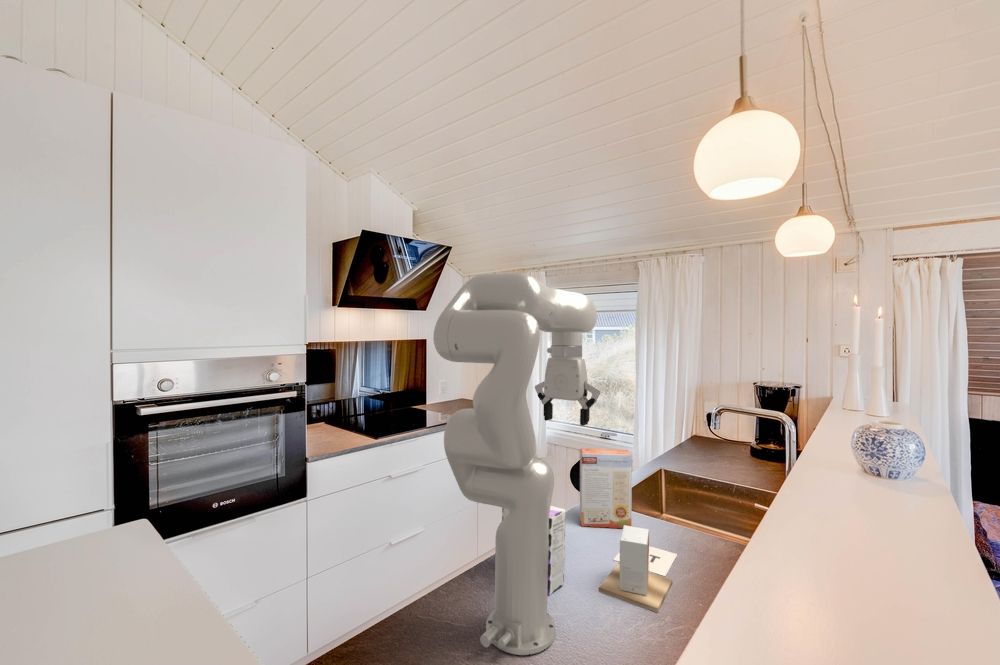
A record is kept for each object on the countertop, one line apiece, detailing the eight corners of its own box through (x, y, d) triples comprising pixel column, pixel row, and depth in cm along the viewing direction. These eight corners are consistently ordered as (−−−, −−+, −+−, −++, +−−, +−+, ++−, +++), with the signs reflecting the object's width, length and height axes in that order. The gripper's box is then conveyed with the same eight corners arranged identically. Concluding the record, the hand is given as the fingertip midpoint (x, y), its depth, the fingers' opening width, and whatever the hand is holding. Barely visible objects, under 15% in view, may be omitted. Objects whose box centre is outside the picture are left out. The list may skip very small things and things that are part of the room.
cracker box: (627, 520, 125) (628, 448, 126) (631, 530, 119) (632, 454, 120) (578, 518, 127) (579, 447, 127) (580, 527, 121) (581, 452, 121)
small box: (647, 596, 87) (647, 545, 87) (618, 590, 89) (619, 539, 90) (649, 576, 95) (649, 528, 95) (622, 571, 97) (623, 524, 97)
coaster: (657, 612, 84) (657, 608, 84) (598, 591, 91) (599, 587, 91) (672, 583, 94) (672, 580, 94) (618, 566, 100) (618, 562, 100)
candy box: (499, 571, 98) (500, 498, 98) (516, 561, 102) (517, 491, 102) (549, 597, 88) (550, 516, 88) (565, 585, 93) (566, 508, 93)
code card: (665, 576, 96) (665, 576, 96) (613, 560, 103) (613, 559, 103) (677, 554, 106) (677, 553, 106) (629, 540, 113) (629, 540, 113)
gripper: (528, 352, 108) (527, 420, 108) (593, 354, 98) (592, 429, 98) (543, 351, 114) (542, 415, 114) (605, 353, 105) (604, 424, 104)
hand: (565, 422), depth 106 cm, fingers open, 9 cm apart
